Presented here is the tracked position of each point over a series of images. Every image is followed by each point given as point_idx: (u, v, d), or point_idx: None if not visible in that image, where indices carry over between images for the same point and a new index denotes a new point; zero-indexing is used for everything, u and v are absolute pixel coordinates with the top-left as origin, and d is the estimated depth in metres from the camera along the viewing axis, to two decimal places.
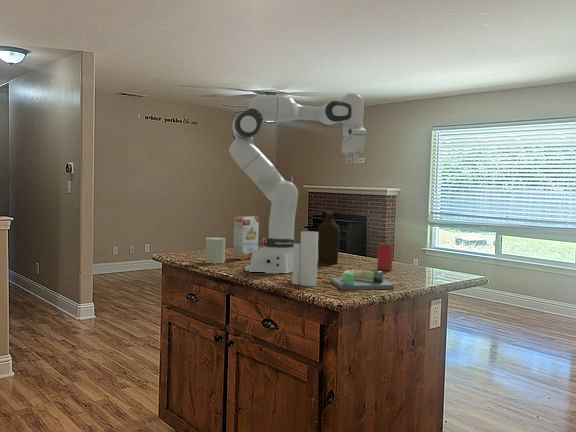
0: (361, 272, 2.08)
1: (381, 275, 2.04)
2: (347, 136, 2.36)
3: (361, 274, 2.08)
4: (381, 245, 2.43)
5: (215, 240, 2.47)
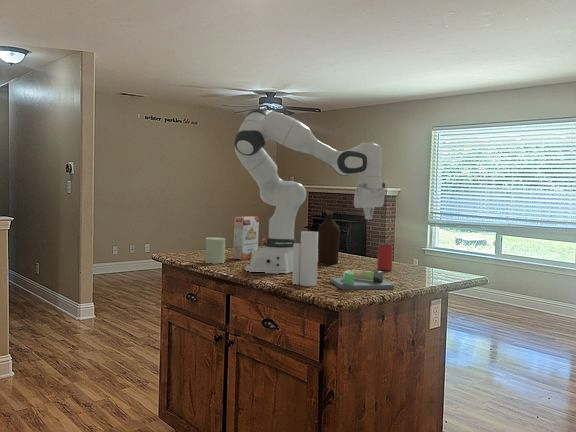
0: (361, 272, 2.08)
1: (381, 275, 2.04)
2: (377, 189, 2.11)
3: (361, 274, 2.08)
4: (381, 245, 2.43)
5: (215, 240, 2.47)
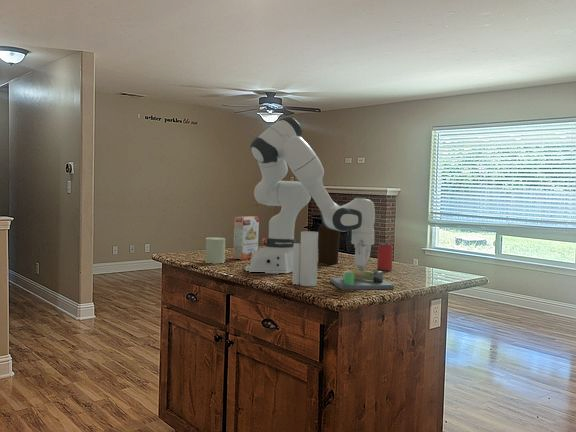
0: (361, 272, 2.08)
1: (381, 275, 2.04)
2: None
3: (361, 274, 2.08)
4: (381, 245, 2.43)
5: (215, 240, 2.47)
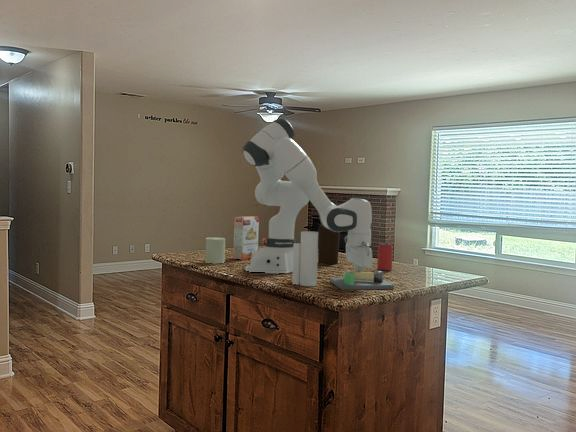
0: (360, 273, 2.05)
1: (382, 275, 2.04)
2: None
3: (360, 275, 2.05)
4: (381, 245, 2.43)
5: (215, 240, 2.47)
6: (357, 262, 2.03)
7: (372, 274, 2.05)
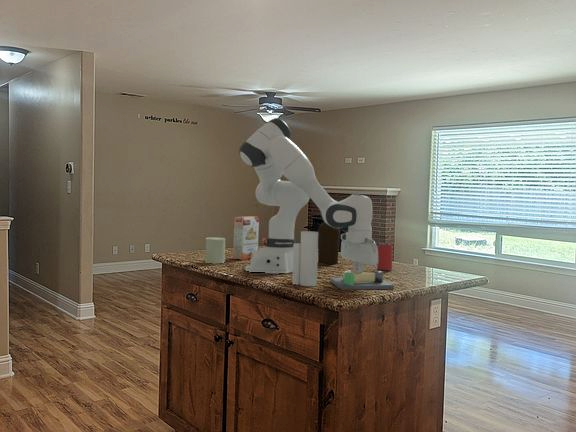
0: (363, 275, 2.02)
1: None
2: None
3: (363, 277, 2.02)
4: (381, 245, 2.43)
5: (215, 240, 2.47)
6: (360, 260, 2.00)
7: (373, 274, 2.04)
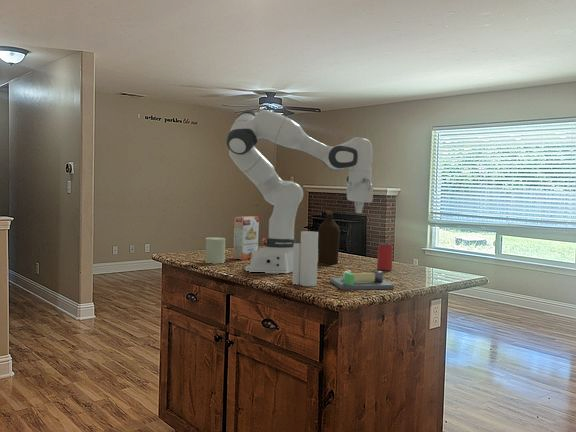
0: (363, 275, 2.02)
1: None
2: None
3: (363, 277, 2.02)
4: (381, 245, 2.43)
5: (215, 240, 2.47)
6: (358, 198, 2.12)
7: (373, 274, 2.04)
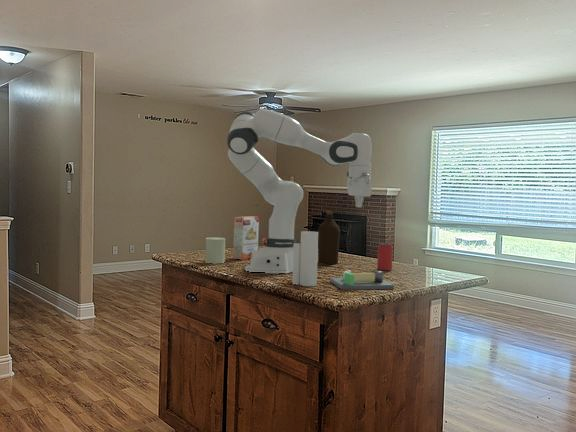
0: (363, 275, 2.02)
1: None
2: None
3: (363, 277, 2.02)
4: (381, 245, 2.43)
5: (215, 240, 2.47)
6: (357, 193, 2.15)
7: (373, 274, 2.04)
